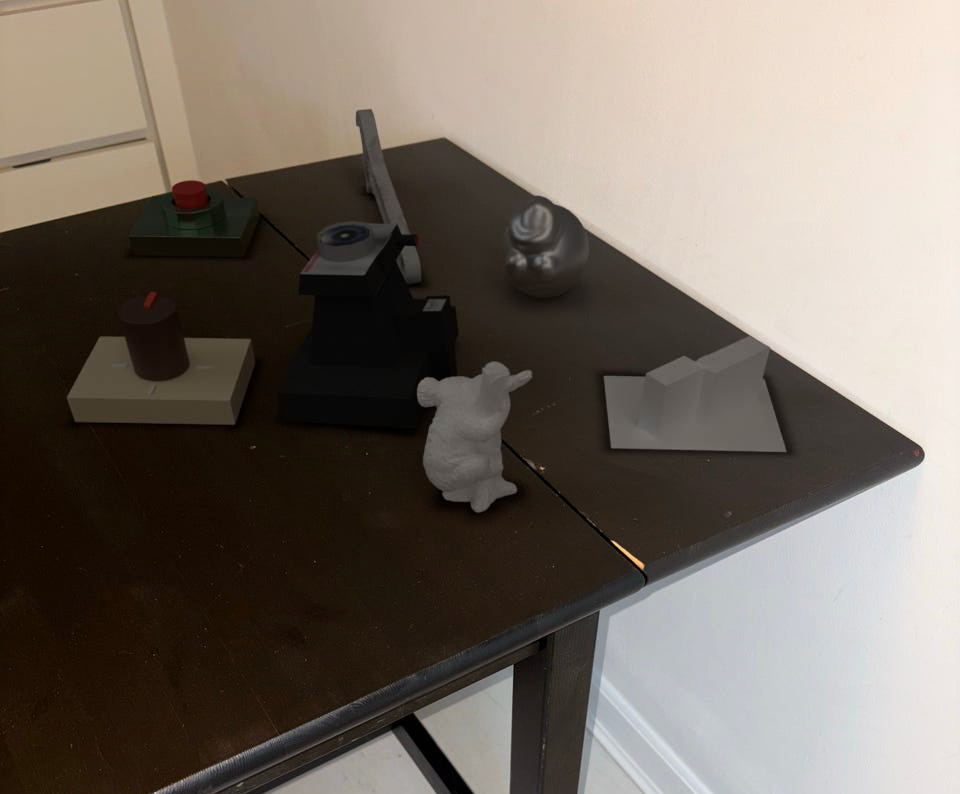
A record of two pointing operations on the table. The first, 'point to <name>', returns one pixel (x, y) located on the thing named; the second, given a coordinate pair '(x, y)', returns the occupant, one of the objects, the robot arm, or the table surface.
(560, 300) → the table surface
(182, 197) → the button
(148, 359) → the dial
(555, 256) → the dark grey rounded lump
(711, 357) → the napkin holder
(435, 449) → the animal figurine
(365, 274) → the camera
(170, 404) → the panel
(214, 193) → the button block
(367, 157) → the wrench
